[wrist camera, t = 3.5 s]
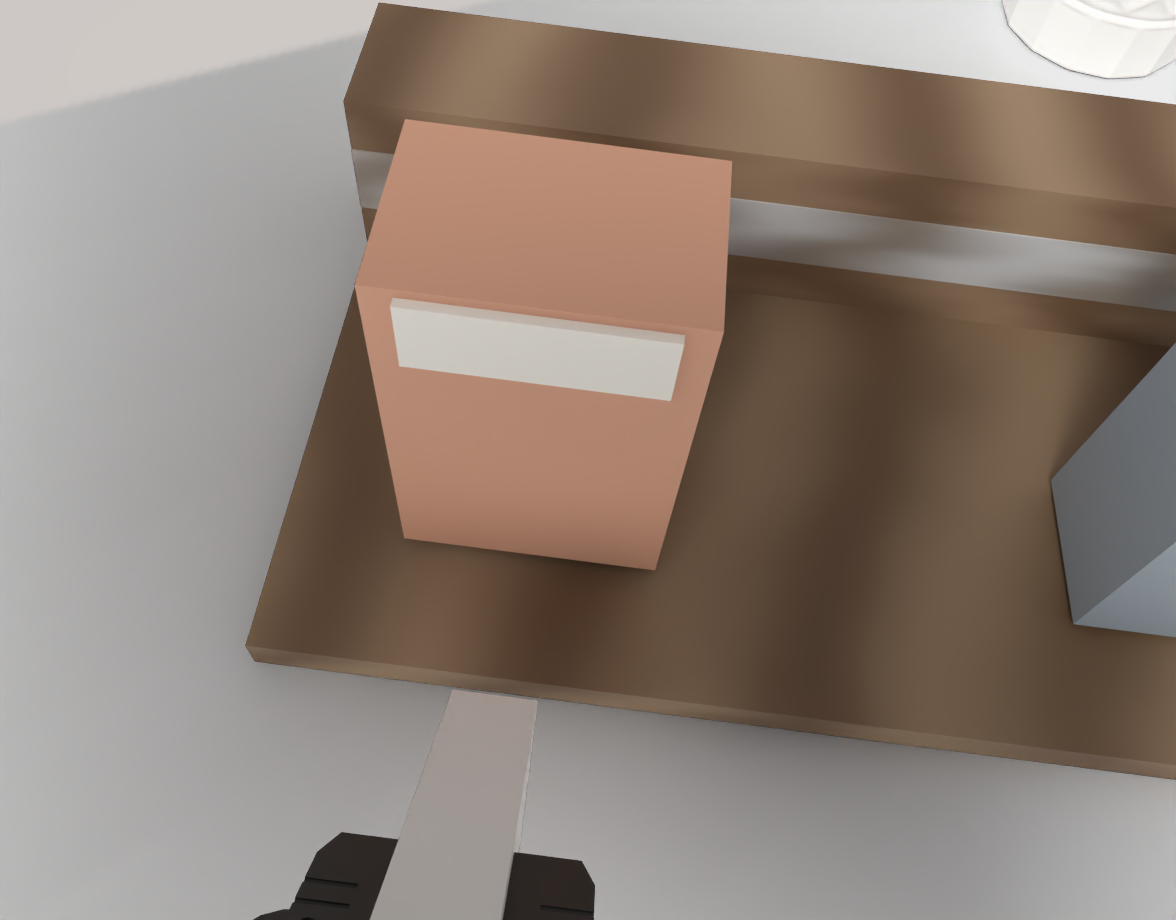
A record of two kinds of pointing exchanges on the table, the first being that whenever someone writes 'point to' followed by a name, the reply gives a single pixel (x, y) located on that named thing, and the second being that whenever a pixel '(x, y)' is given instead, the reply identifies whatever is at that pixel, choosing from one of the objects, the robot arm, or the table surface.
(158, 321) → the table surface
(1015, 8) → the white cup
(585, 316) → the salmon orange box
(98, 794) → the table surface
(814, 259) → the wooden display shelf
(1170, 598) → the blue gray box
